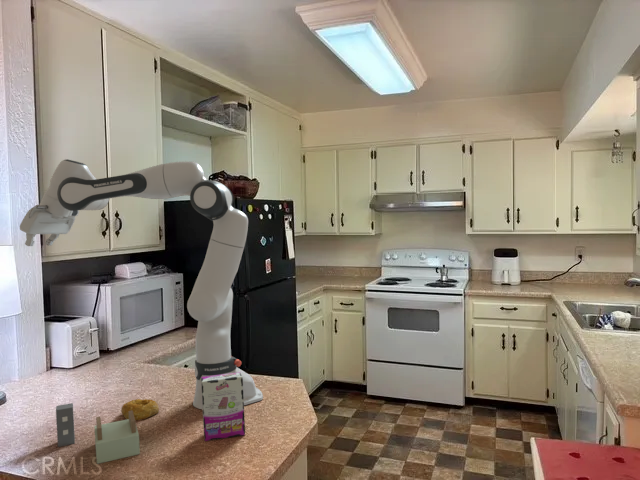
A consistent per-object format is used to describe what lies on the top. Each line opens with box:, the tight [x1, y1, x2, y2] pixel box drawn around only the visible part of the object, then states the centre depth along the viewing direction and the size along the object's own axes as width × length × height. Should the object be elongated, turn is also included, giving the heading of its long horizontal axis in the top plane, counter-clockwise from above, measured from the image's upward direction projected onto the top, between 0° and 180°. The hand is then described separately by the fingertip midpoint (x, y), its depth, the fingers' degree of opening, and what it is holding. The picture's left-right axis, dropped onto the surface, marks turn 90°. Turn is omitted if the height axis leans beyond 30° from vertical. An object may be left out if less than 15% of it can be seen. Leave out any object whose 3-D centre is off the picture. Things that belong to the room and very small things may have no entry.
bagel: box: [120, 398, 160, 421], centre depth 149 cm, size 10×11×5 cm
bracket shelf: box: [94, 410, 141, 465], centre depth 126 cm, size 10×12×8 cm
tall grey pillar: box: [55, 402, 76, 448], centre depth 131 cm, size 4×4×10 cm
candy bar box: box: [201, 372, 246, 442], centre depth 133 cm, size 11×5×16 cm, turn 106°
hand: (38, 245), depth 156 cm, fingers open, 8 cm apart
